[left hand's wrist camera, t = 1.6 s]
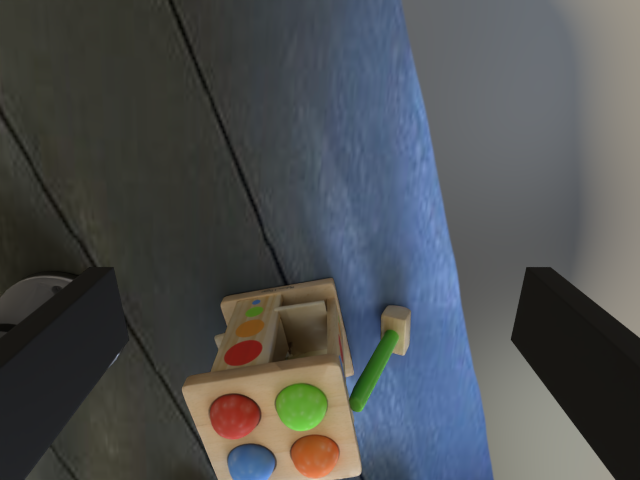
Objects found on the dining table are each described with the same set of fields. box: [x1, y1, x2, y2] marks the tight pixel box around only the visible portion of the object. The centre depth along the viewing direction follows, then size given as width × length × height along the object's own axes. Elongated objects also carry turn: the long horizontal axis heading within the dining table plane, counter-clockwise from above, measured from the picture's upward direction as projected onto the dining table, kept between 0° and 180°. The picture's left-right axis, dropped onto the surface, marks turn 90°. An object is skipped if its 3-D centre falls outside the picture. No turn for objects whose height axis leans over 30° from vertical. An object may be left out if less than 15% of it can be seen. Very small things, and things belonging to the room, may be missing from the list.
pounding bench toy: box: [182, 278, 411, 480], centre depth 43 cm, size 23×14×18 cm, turn 101°
